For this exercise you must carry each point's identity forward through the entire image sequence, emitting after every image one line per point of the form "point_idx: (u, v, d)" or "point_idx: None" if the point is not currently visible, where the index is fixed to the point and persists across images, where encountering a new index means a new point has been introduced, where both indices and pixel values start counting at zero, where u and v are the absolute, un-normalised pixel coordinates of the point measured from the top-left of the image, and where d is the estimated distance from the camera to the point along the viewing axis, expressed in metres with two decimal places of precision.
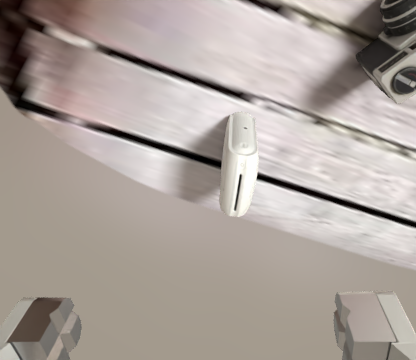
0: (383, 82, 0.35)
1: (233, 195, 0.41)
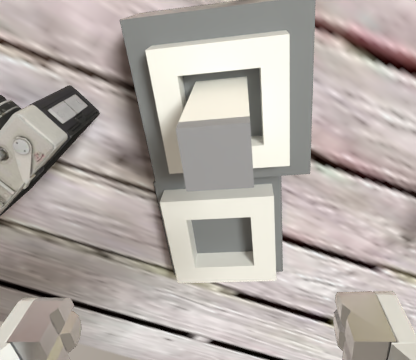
0: None
1: None
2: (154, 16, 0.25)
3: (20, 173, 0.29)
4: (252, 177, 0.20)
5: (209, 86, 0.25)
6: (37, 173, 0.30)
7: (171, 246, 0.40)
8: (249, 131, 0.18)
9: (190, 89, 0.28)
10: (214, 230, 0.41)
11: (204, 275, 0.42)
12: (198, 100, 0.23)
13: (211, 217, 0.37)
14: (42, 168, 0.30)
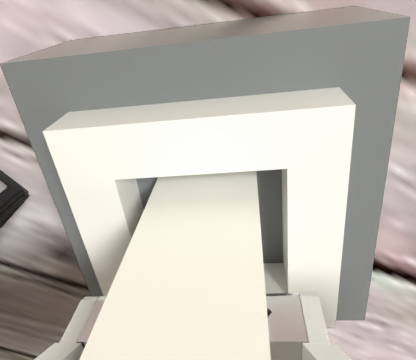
0: None
1: None
2: (68, 57, 0.12)
3: None
4: None
5: (181, 198, 0.13)
6: None
7: None
8: None
9: (150, 188, 0.15)
10: None
11: None
12: (146, 260, 0.10)
13: None
14: None
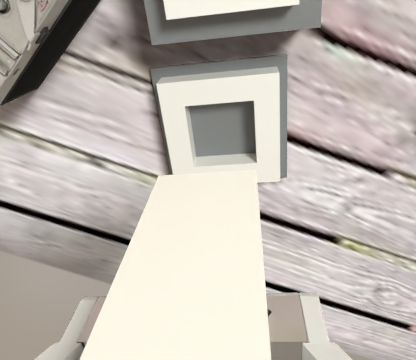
0: None
1: None
2: None
3: (23, 28, 0.26)
4: None
5: (180, 198, 0.13)
6: (42, 33, 0.28)
7: (168, 140, 0.37)
8: None
9: None
10: (214, 127, 0.39)
11: None
12: (146, 260, 0.10)
13: (211, 102, 0.35)
14: (47, 30, 0.28)
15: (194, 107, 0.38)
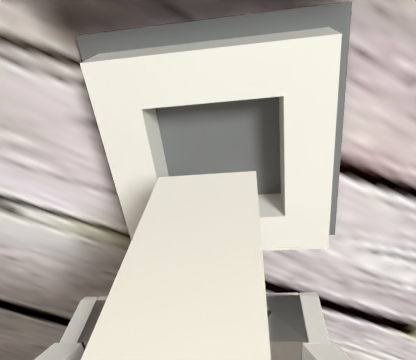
0: None
1: None
2: None
3: None
4: None
5: (180, 200, 0.13)
6: None
7: (116, 175, 0.19)
8: None
9: None
10: (205, 148, 0.21)
11: None
12: (146, 262, 0.10)
13: (196, 100, 0.17)
14: None
15: (165, 112, 0.20)
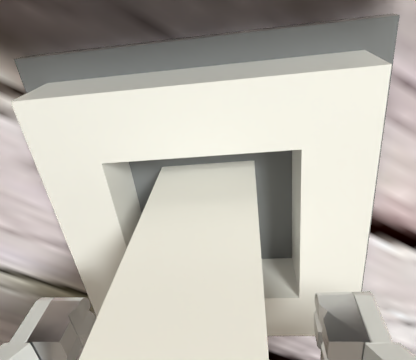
0: None
1: None
2: None
3: None
4: None
5: (183, 187, 0.13)
6: None
7: (72, 244, 0.14)
8: None
9: None
10: None
11: None
12: (151, 241, 0.11)
13: (177, 152, 0.12)
14: None
15: None
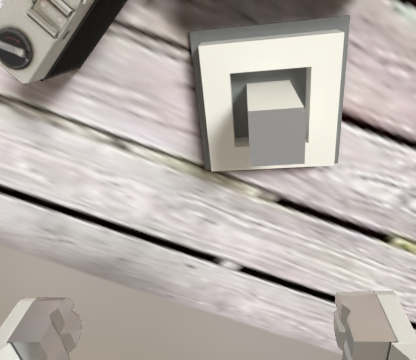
0: None
1: None
2: None
3: None
4: (304, 155, 0.25)
5: (260, 87, 0.31)
6: None
7: (207, 115, 0.32)
8: (305, 118, 0.24)
9: None
10: None
11: (246, 158, 0.34)
12: (255, 96, 0.29)
13: (261, 68, 0.30)
14: None
15: (236, 79, 0.33)
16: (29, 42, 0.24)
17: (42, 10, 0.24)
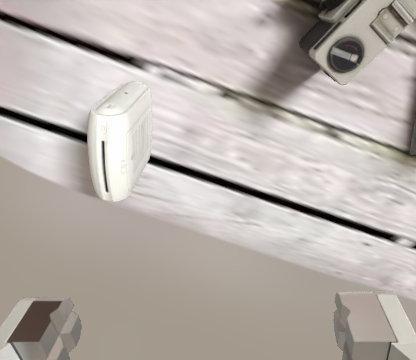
0: (318, 60, 0.29)
1: (97, 169, 0.33)
2: None
3: None
4: None
5: None
6: None
7: None
8: None
9: None
10: None
11: None
12: None
13: None
14: None
15: None
16: (362, 49, 0.28)
17: (382, 21, 0.28)
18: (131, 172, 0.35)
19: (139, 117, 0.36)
